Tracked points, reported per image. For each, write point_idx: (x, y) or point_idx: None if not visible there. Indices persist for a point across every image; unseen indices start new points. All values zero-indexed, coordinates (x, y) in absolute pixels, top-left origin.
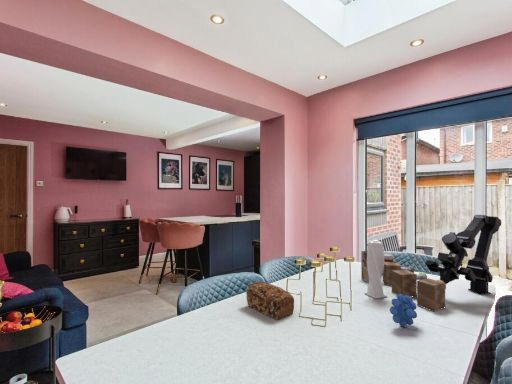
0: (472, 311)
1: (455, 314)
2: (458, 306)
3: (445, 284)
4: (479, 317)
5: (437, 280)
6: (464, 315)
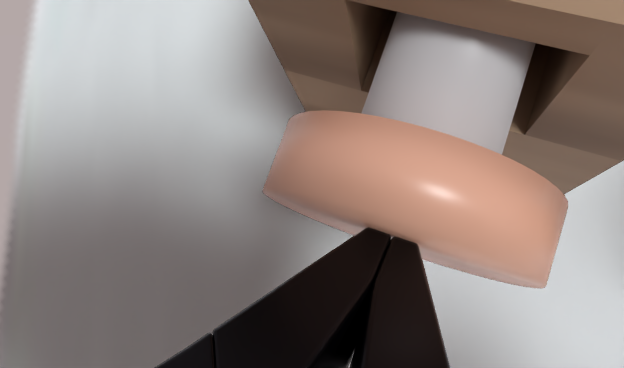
0: (85, 253)
1: (216, 32)
2: (212, 318)
3: (266, 181)
4: (37, 123)
5: (475, 151)
6: (147, 70)
